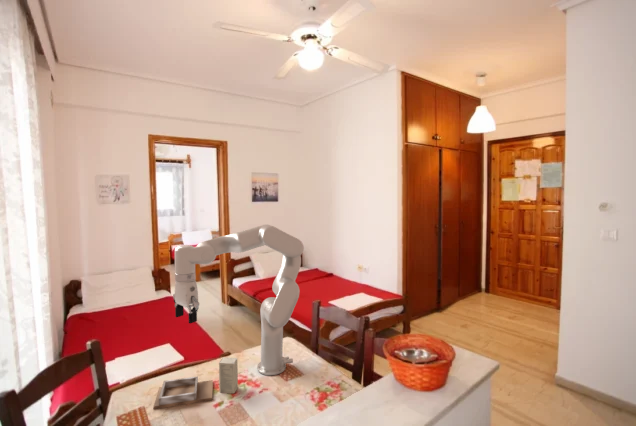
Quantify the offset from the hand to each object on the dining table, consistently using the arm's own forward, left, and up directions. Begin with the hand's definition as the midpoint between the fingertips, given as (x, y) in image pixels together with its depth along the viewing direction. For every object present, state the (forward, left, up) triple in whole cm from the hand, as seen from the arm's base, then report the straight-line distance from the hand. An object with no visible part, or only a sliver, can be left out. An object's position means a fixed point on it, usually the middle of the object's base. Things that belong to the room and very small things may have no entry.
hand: (186, 319), depth 131 cm
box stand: (0, +7, -27) cm, 28 cm away
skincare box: (-16, +8, -27) cm, 33 cm away
